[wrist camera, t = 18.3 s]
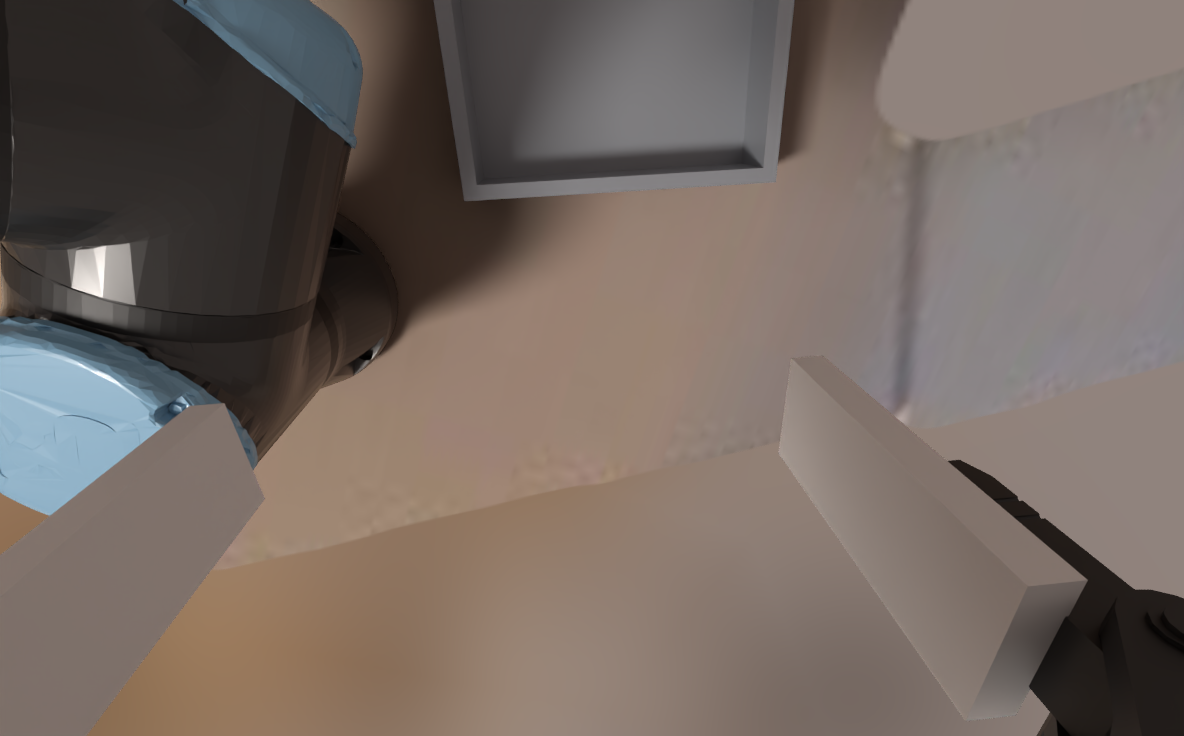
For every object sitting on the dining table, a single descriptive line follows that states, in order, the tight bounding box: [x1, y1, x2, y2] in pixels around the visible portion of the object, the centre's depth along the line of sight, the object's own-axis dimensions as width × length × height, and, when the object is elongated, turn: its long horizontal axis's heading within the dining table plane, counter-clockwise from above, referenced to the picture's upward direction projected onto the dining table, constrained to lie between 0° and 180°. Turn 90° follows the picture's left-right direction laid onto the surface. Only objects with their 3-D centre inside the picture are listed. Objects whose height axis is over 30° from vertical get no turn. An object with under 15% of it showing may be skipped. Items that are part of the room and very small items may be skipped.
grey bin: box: [434, 0, 795, 201], centre depth 34 cm, size 22×18×5 cm
